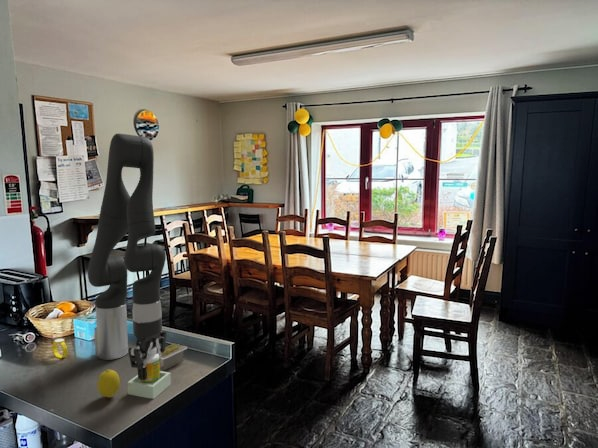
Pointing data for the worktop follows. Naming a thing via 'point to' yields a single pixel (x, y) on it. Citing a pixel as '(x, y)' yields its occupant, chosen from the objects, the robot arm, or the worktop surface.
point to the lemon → (108, 383)
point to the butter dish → (172, 355)
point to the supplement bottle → (152, 367)
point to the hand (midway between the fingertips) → (149, 374)
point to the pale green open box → (149, 386)
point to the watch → (65, 350)
